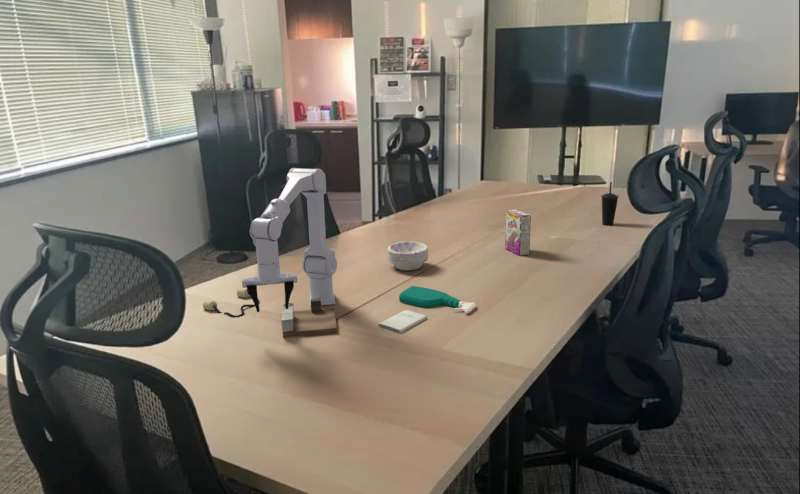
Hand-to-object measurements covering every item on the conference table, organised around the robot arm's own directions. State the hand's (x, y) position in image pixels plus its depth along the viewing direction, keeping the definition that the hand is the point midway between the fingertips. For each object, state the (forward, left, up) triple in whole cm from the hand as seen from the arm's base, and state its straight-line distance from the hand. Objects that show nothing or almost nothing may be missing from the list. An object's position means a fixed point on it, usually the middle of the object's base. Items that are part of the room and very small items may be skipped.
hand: (272, 309), depth 154 cm
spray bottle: (-15, +50, -9) cm, 53 cm away
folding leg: (-6, +4, -7) cm, 10 cm away
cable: (-28, -13, -9) cm, 32 cm away
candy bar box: (-61, +93, -9) cm, 111 cm away
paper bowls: (-53, +47, -9) cm, 71 cm away
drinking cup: (-92, +149, -9) cm, 175 cm away
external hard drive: (-3, +37, -9) cm, 38 cm away
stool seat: (-7, +10, -9) cm, 15 cm away
